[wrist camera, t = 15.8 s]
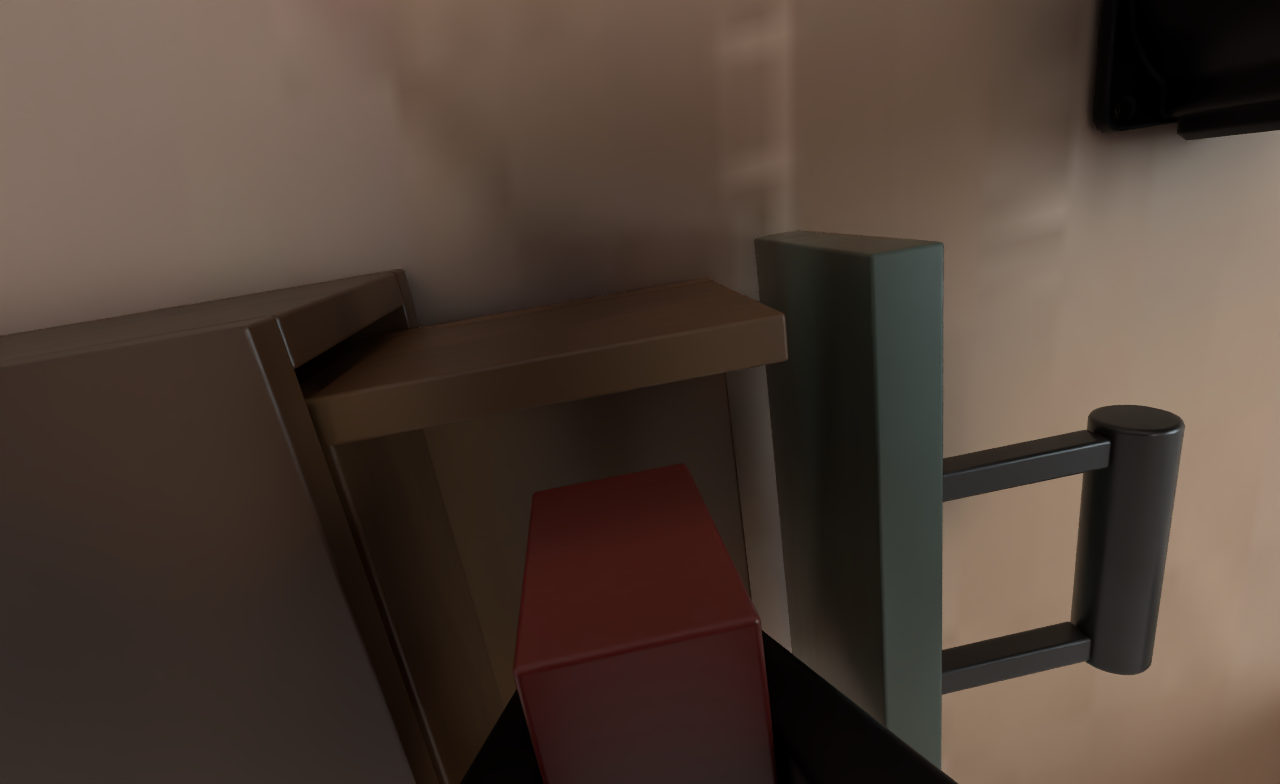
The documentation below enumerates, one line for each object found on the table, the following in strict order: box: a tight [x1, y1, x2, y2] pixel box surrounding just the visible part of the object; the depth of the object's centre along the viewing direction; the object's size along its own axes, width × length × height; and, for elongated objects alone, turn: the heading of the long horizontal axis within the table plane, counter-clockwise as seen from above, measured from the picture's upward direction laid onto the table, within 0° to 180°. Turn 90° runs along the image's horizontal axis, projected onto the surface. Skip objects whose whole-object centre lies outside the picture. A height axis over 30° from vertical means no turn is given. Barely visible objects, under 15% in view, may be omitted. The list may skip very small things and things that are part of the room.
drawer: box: [299, 230, 1185, 784], centre depth 14 cm, size 15×13×6 cm
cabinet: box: [0, 269, 439, 784], centre depth 13 cm, size 12×15×8 cm
